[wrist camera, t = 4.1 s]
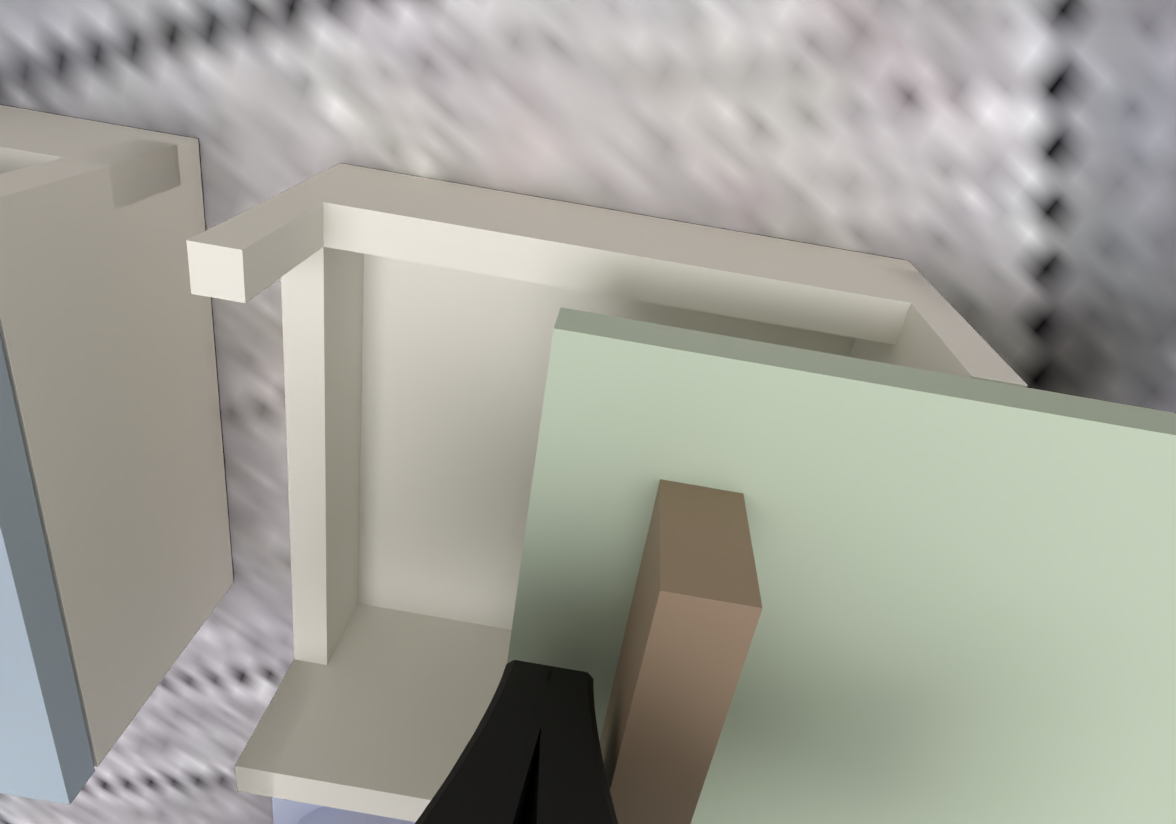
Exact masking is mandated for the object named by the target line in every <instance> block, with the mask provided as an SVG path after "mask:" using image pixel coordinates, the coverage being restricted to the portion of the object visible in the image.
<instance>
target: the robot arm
mask: <svg viewBox="0 0 1176 824" xmlns="http://www.w3.org/2000/svg"><path fill="white" fill-rule="evenodd" d="M593 681H594V679H593V678H592V677H591V675H590V674H589V673H588V672H584V671H578V670H572V669H566V668H560V667H554V666H548V665H542V664H536V663H530V662H525V661H519V660H513V661H511V662H509V663H507V664H506V666H505V669H504V672H503V675H502V678H501V680H500V683H499V685H498V687H497V689H496V692H495V694H494V696H493V698H492V700H491V702H490V704H489V706H488V708H487V710H486V712H485V714H484V716H483V718H482V719H481V721H480V723H479V725H478V727H477V729H476V730H475V732H474V734H473V736H472V737H471V739H470V741H469V742H468V744H467V745H466V747H465V749H464V750H463V752H462V754H461V755H460V757H459V759H458V760H457V762H456V763H455V765H454V767H453V768H452V770H451V772H450V773H449V775H448V776H447V778H446V779H445V781H444V782H443V784H442V785H441V787H440V788H439V790H438V791H437V792H436V794H435V795H434V797H433V798H432V800H431V801H430V802H429V804H428V805H427V807H426V808H425V810H424V811H423V813H422V814H421V815H420V817H419V818H418V820H417V821H416V822H412V821H407V820H401V819H395V818H389V817H384V816H378V815H372V814H366V813H361V812H355V811H349V810H343V809H338V808H332V807H326V806H320V805H315V804H309V803H303V802H297V801H292V800H286V799H280V798H274V797H272V810H273V824H618V821H617V817H616V814H615V810H614V806H613V802H612V797H611V793H610V789H609V785H608V781H607V777H606V772H605V768H604V763H603V758H602V753H601V747H600V741H599V735H598V729H597V722H596V714H595V705H594V689H593Z"/></svg>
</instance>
